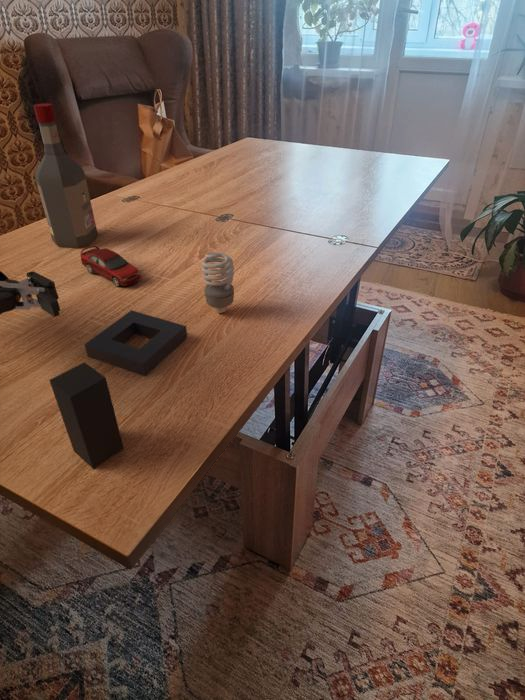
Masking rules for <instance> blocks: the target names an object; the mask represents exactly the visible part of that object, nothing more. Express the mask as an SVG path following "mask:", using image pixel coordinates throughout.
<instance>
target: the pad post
mask: <svg viewBox="0 0 525 700" xmlns="http://www.w3.org/2000/svg"><path fill="white" fill-rule="evenodd" d="M49 384H50V386H51V389H52V392H53V394H54V397H55V401H56V403H57V406H58V409H59V412H60V416H61V418H62V421H63V424H64V427H65V429H66V432H67V435H68V438H69V442H70V444H71V447H72V451H73V452H74V453H76V455H77V456H78V457H80V459H82V461H84V462H85V463H86V464H87V465H88V466H89V467H90V468H91V469H92V470H94V469H96V468H97V467H99V466H100V465H102V464H104V463H105V462H106V461H108V460H109V459H111V458H113V457H114V456H115V455H117V454H118V453H120V452H121V451H122V450H124V449H125V447H124V444H123V440H122V436H121V435H122V434H121V432H120V428H119V423H118V420H117V416H116V413H115V408H114V405H113V401H112V396H111V393H110V388H109V385H108V381H107V378H106V376H104V375H103V374H101V373H100V372H98V371H97V370H96V369H95V368H93V367H92V366H91V365H89V364H87V362H85V361H84V362H81V363H80V364H78V365H75V366H74V367H72V368H70V369H68V370H66V371H64V372H62V373H60V374H58V375H57V376H54V377H53V378H51V379H49Z"/></svg>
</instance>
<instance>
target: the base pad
mask: <svg viewBox="0 0 525 700" xmlns="http://www.w3.org/2000/svg"><path fill="white" fill-rule="evenodd" d="M136 335H138V336H142V337H145V338H147V339H149V340H148V341H147V342H146V343H144V344H143V345H142V346H141V347H140V348H138V347H136V346H133V345H129V344H127V342H128V341H129V340H131V339H132V338H133V337H135V336H136ZM187 339H188V331H187V325H184V324H180V323H177V322H173V321H170V320H167V319H164V318H159V317H157V316H152V315H150V314H146V313H142V312H139V311H136V310H132V309H131V310H130V311H128V312H127V313H125V314H124V315H122V316H121V317H120V318H118V319H117V320H116V321H114V322H113V323H112V324H110V325H109V326H107V327H106V328H105V329H104V330H101V331H100V332H99V333H98V334H97V335H95V336H94V337H92V338H91V339H89V340H88V341H87V342H85V343H84V348H85V351H86V356H87V357H88V358H91V359H94V360H96V361H100V362H103V363H105V364H107V365H108V364H109V365H110V366H114V367H117V368H119V369H123V370H126V371H128V372H131V373H134V374H137V375H140V376H143V377H146V376H147V375H148V374H149V373H151V372H152V371H153V370H154V369H155V368H156V367H157V366H158V365H159V364H161V363H162V362H163V361H164V360H165V359H166V358H168V356H169V355H170V354H172V353H173V352H174V351H175V350H176V349H178V347H179V346H180V345H181V344H182V343H184V342H185V341H186V340H187Z"/></svg>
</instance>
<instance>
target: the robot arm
mask: <svg viewBox="0 0 525 700" xmlns="http://www.w3.org/2000/svg"><path fill="white" fill-rule="evenodd" d="M25 275H26V277H27V278H25V279H23V280H20V281H18V280H17V279H16V280H15V279H10V278H9V277H8V276H7V275H6V274H5V273H4V272H2V271H1V270H0V315H2V314H4V313H8V312H11V311H13V310H25V311H26V310H28V311H29V310H31V308H41V310H42V311H44V312H46V313H47V314H49V315H50V316H51V317H53V318H56V317H58V316H60V312H61V310H62V309H61V307H60V304H59V301H58V300H59V299H60V297H59V294H58V291H57V288H56V284H55V281H53V280H51V279H50V278H47V277H45V276H44V275H42V274H40V273H38V272H36V271H33V270H32V271H28V272H26V273H25ZM32 295H35V296H36V299H35V298H33V296H32ZM21 299H22V301H21Z"/></svg>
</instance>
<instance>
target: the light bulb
mask: <svg viewBox="0 0 525 700" xmlns="http://www.w3.org/2000/svg"><path fill="white" fill-rule="evenodd" d="M201 266H202V267H201V272H202V278H203V279H204V280H203V282H204V284H205V287H204V297H205V302H206V304H207V305H208V306H210V307H211V308H213V310H214V312H216V313H218V314H222V313H225V312H226V311H227V310H228V307H229V306H231V305H232V304H233V302H234V299H235V298H234V297H235V288H234V285H233V281H234V276H235V274H234V270H235V267H234V260H233V259H232V257H231V256H230V255H228V254H226V253H224V252H219V251H211V252H210V251H209V252H207V253H206V254H205V255H204V259H203V260H202V261H201Z"/></svg>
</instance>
